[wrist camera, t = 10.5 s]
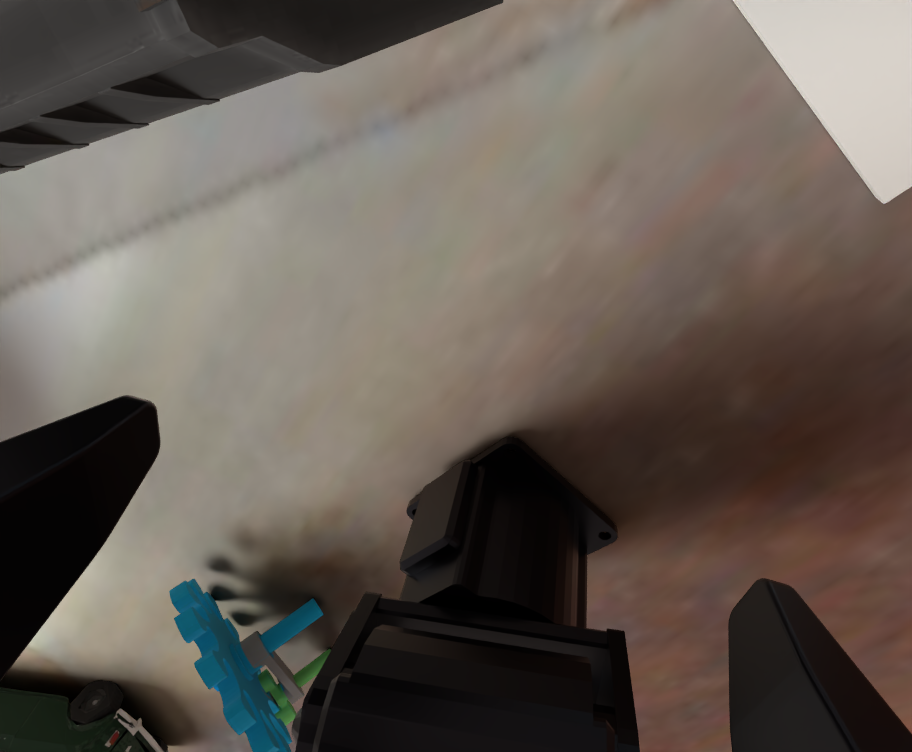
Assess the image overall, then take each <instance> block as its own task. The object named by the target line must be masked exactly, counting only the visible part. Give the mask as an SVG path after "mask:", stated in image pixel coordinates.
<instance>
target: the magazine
mask: <svg viewBox="0 0 912 752" xmlns="http://www.w3.org/2000/svg"><path fill="white" fill-rule="evenodd" d="M500 3H503V0H0V174H2V173H5V172H8V171H16V170H19V169H22V168H25V165H28V164H31V163H34V162H37V161H40V160H43V159H46V158H48V157H51V156H54V155H57V154H60V153H63V152H66V151H69V150H72V149H80V148H83V147H86V146H89V143H92V142H95V141H98V140H101V139H104V138H107V137H110V136H113V135H116V134H119V133H122V132H124V131H127V130H130V129H133V128H141V127H144V126H147V125H149V124H148V123H151V122H154V121H157V120H160V119H163V118H166V117H168V116H171V115H174V114H177V113H180V112H183V111H186V110H189V109H192V108H195V107H198V106H201V105H204V104H206V105H209V104H212V103H215V102H218V101H220V100H219V99H221V98H224V97H227V96H230V95H233V94H236V93H239V92H242V91H245V90H248V89H251V88H254V87H257V86H260V85H263V84H266V83H269V82H272V81H275V80H278V79H281V78H283V77H286V76H289V75H292V74H295V73H298V72H314V73H320V72H323V71H326V70H329V69H332V68H336V67H339V66H342V65H344V64H347V63H349V62H352V61H354V60H357V59H360V58H362V57H365V56H367V55H370V54H372V53H375V52H378V51H380V50H383V49H385V48H388V47H390V46H393V45H395V44H398V43H401V42H403V41H406V40H408V39H411V38H413V37H416V36H419V35H421V34H424V33H426V32H429V31H431V30H434V29H436V28H439V27H442V26H444V25H447V24H449V23H452V22H454V21H457V20H459V19H462V18H465V17H467V16H470V15H472V14H475V13H477V12H480V11H483V10H485V9H488V8H490V7H493V6H495V5H498V4H500Z"/></svg>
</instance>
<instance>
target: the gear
mask: <svg viewBox="0 0 912 752" xmlns="http://www.w3.org/2000/svg"><path fill="white" fill-rule="evenodd" d="M169 592H170V597H171V601H172V603H173V605H174V607H175V608H176V609H177V611H178V612H179V613H181V614H180V615H178V616H177V617H175V618H174V620H175V622H176V624H177V627H178V629H179V631H180V633H181V635H182V637H183V639H184V640H185V641H186V642H187V643H190V642H192V641H193V640H194V641H195V643H196V644H197V646H198V647H199V649H200V652H201V654H202V658H200V659H199V660H197V661H196V662H195V663H194V665H195V668H196V670H197V671H198V673H199V675H200V676H201V678H202V680H203V681H204V683H205V684H206V686H207V687H208V689H211V688H212V687H214V688H215V689H216V690H217V691H220V694H221V697H222V700H223V707H224V708H223V712H224V716H225V718H226V720H227V722H228V723H229V725H230V726H231V727H232V728H233V730H234V731H235V732H236V733H237V734H238V735H240V734H242V733H243V732H244V731H245V733H246V735H247V737H248V740H249V743H250V746H251V748H252V751H253V752H291V750H290V747H289V745H288V744H290V743H291V742H292V740H291V737H290V735H289V732H288V730H287V728H286V725H287V724H289V723H290V722H291V721H292V720H294V718H295V716H296V712H295V710H294V708H293V706H292V705H291V703H292V704H293V703H295V702H296V701H297V700H298V699H300V698H301V697H302V696H304V693H303V691H302V688H301V687H302V686H303V685H304V684H306V683H307V682H308V681H309V680H311V679H312V678H313V677H315V676H316V675H317V674H318V673H319V671H320V669H321V668H322V666H323V664H324V662H325V660H326V659H327V657H328V655H329V653H330V651H331V650H330V648H329V649H328V650H327V651H325V652H324V653H323V654H321V655H320V656H319V657H317V658H316V659H315V660H314V661H312V662H311V663H310V664H308V665H307V666H306V667H304V668H303V669H302V670H300V671H299V672H298V673H296V674H295V675H293V673H292V672H291V671H290V669H289V668H288V667H287V666H286V665H285V663H284V662H283V661H282V660H281V659H280V657H279V656H278V655H277V654H276V653H275V650H276V649H277V648H279V647H280V646H281V645H283V644H284V643H286V642H287V641H288V640H290V639H291V638H292V637H294V636H295V635H296V634H298V633H299V632H301V631H302V630H303V629H305V628H306V627H307V626H309V625H310V624H312V623H313V622H314V621H316V620H317V619H318V618H320V617H321V616H323V615H324V614H323V613H322V611H321V609H320V608H319V606H318V604H317V603H316V601H315V600H314V598H313V599H311V600H310V601H308V602H307V603H306V604H304V605H303V606H301V607H300V608H299V609H297V610H296V611H294V612H293V613H292V614H290V615H289V616H287V617H286V618H285V619H283V620H282V621H280V622H279V623H278V624H276V625H275V626H273V627H272V628H270V629H269V630H268V631H266V632H265V633H263V634H262V635H261V634H260V633H259V632H258V631H256V632H254V633H253V634H251V635H250V636H249V637H247V638H246V639H244V640H243V641H242V642H240V640H239V634H238V632H237V630H236V629H235V627H234V626H233V625H232V623H231V622H230V621H229V619H228V618H226V619H225V620H224V619H223V618H222V615H221V613H220V611H219V608H218V606H217V604H216V602H215V600H214V599H213V597H212V596H211V595H210V594H209V593H208V592H206V593H204V594H203V592H202V590H201V588H200V587H199V585H198V583H197V582H196V580H195V579H192V580H191V581H189V582H187V581H184V582H182V583H181V584H179V585H178V586H176V587H175V588H173V589H172V590H170V591H169ZM264 665H266V666H267V667H268V668H269V669H270V670H271V671H272V673H273V674H274V675H275V676H276V677H277V679H278V682H279V684H276V683H275V681H274V679H273V678H272V676H271V674H270V673H269V671H268V670H267V669H266V670H264V671H263V672H262V673H261V670H260V668H262V667H263V666H264ZM288 700H289V701H290V702H291V703H290V702H289V701H288ZM277 703H278V704H277ZM278 705H279V706H278Z"/></svg>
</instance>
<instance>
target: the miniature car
mask: <svg viewBox="0 0 912 752" xmlns="http://www.w3.org/2000/svg"><path fill="white" fill-rule="evenodd" d="M123 697H124V696H123V694H122V693H121V691H120V690H119V688H118V687H117V685H116V684H114V683H113V682H111V681H103V680H99V681H96V682H93V683H89V684H88V685H87V686H86V687H85V688H84V689H83V690H82V691H81V693H80V694H79V695H78V696H77V697H76V698H75V699H74V700H73V701H72V703H71V704H70V703H69V702H68V697H64V696H60V695H53V694H45V693H38V692H30V691H22V690H15V689H7V688H0V752H168V751H167V750H168V746H167V745H166V744H165V743H164V742H163V741H162V740H161V739H159V738H157V737H152V736H151V735H150V734H149V733H148V732H147V731H146V730H145V729H144V728H143V727H142V720H141V718H139V719H138V720H137V721H136V720H135V719H133V718H132V717H131V716H130V715H129V714H127V713H126V712H125V711H123V710H122V709H120V706H121V703H122V700H123Z"/></svg>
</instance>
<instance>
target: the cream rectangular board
mask: <svg viewBox="0 0 912 752" xmlns="http://www.w3.org/2000/svg"><path fill="white" fill-rule="evenodd" d="M733 1H734V3H735V4H736V5H737V7H738V8H739V10H740V11H741V12H742V14H743V15H744V17H745V18H746V19H747V21H748V22H749V23H750V25H751V26H752V28H753V29H754V30H755V32H756V33H757V34H758V36H759V37H760V39H761V40H762V41H763V43H764V44H765V46H766V47H767V48H768V50H769V51H770V52H771V54H772V55H773V57H774V58H775V59H776V61H777V62H778V63H779V65H780V66H781V68H782V69H783V70H784V72H785V73H786V74H787V76H788V77H789V79H790V80H791V81H792V83H793V84H794V86H795V87H796V88H797V90H798V91H799V92H800V94H801V95H802V97H803V98H804V99H805V101H806V102H807V103H808V105H809V106H810V108H811V109H812V110H813V112H814V113H815V115H816V116H817V117H818V119H819V120H820V121H821V123H822V124H823V126H824V127H825V128H826V130H827V131H828V132H829V134H830V135H831V137H832V138H833V139H834V141H835V142H836V143H837V145H838V146H839V148H840V149H841V150H842V152H843V153H844V155H845V156H846V157H847V159H848V160H849V161H850V163H851V164H852V166H853V167H854V168H855V170H856V171H857V172H858V174H859V175H860V177H861V178H862V179H863V181H864V182H865V184H866V185H867V186H868V188H869V189H870V190H871V192H872V193H873V195H874V196H875V197H876V198H877V199H878V200H879V201H881V202H882V203H883V204H885V203H887V202H888V201H890V200H891V199H893V198H894V197H896V196H898V195H899V194H901V193H902V192H904V191H905V190H907V189H908V188H910V187H911V186H912V0H733Z"/></svg>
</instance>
